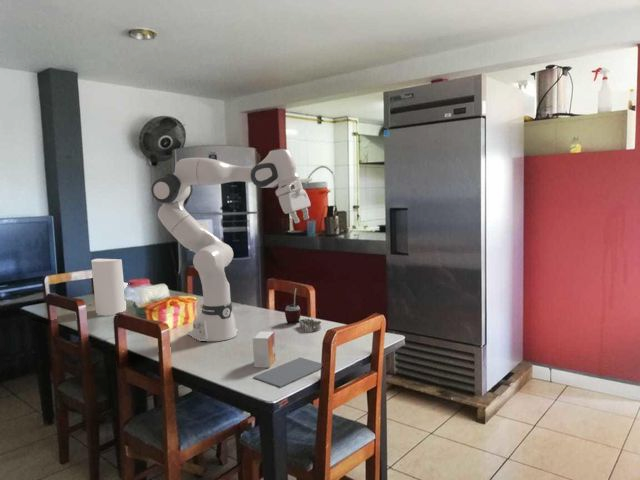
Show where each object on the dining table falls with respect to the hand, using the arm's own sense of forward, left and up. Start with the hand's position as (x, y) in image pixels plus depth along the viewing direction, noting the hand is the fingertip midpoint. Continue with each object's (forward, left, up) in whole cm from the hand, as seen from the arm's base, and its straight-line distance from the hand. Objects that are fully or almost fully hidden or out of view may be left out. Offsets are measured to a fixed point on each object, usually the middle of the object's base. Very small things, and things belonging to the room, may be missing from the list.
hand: (302, 221), depth 194 cm
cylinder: (-115, -26, -48) cm, 127 cm away
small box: (+8, -30, -48) cm, 57 cm away
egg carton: (-8, +10, -48) cm, 50 cm away
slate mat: (+21, -30, -48) cm, 60 cm away
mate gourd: (-20, +12, -48) cm, 53 cm away
